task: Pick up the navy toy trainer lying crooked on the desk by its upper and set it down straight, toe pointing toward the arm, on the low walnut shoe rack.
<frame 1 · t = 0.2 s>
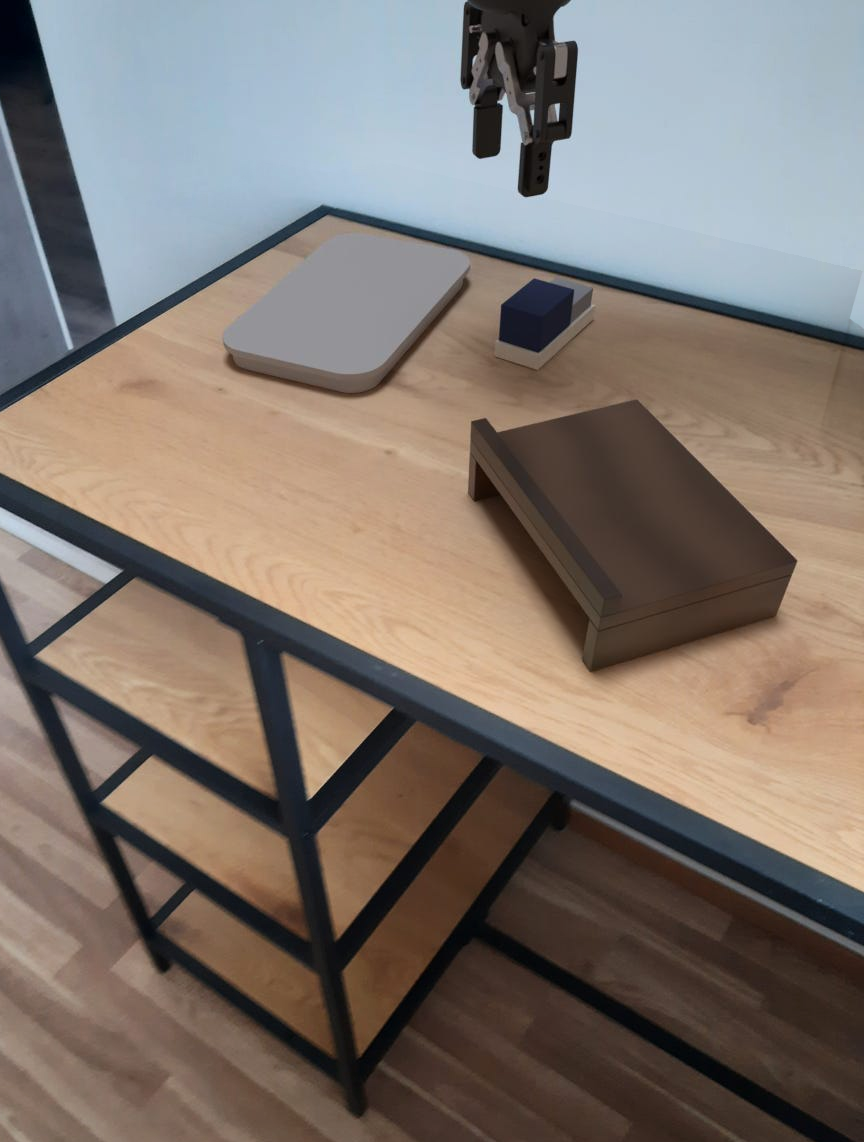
hand: (508, 174, 74), 17 cm above the table, tool pointing down, fingers open, 8 cm apart
trainer: (544, 337, 89), on the table
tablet: (353, 320, 93), on the table
shoe rack: (610, 549, 68), on the table
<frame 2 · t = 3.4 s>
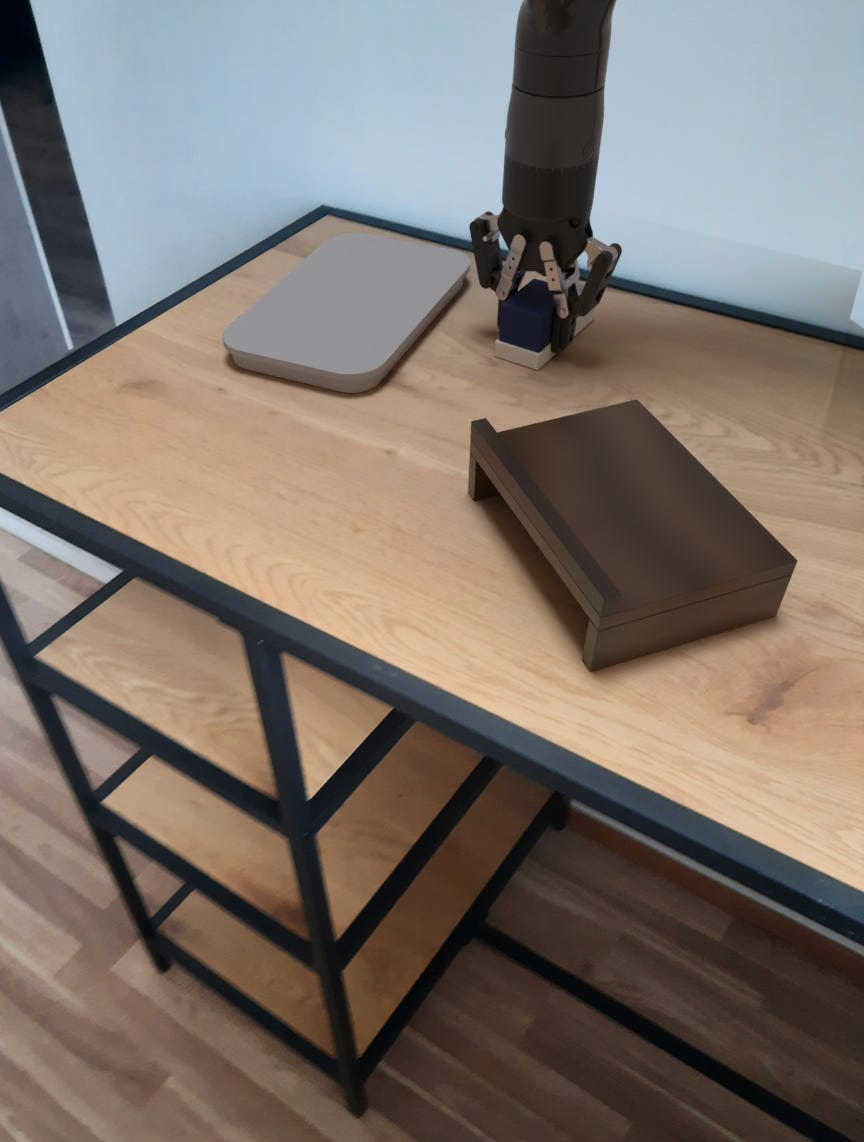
hand: (533, 341, 87), 1 cm above the table, tool pointing down, fingers closed on trainer, 4 cm apart
trainer: (544, 337, 89), on the table, touching gripper
everything else where it was.
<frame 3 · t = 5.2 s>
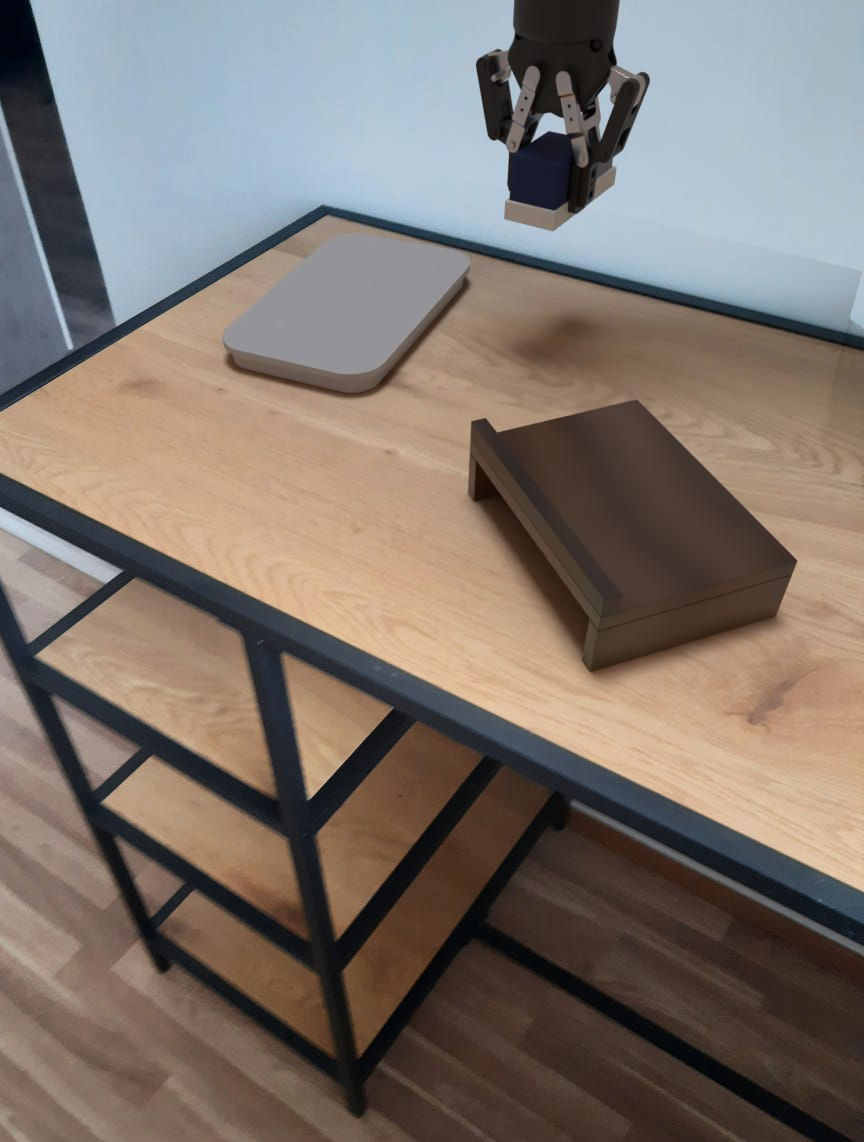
hand: (548, 202, 78), 13 cm above the table, tool pointing down, fingers closed on trainer, 4 cm apart
trainer: (560, 201, 79), point 13 cm above the table, touching gripper
everything else where it was.
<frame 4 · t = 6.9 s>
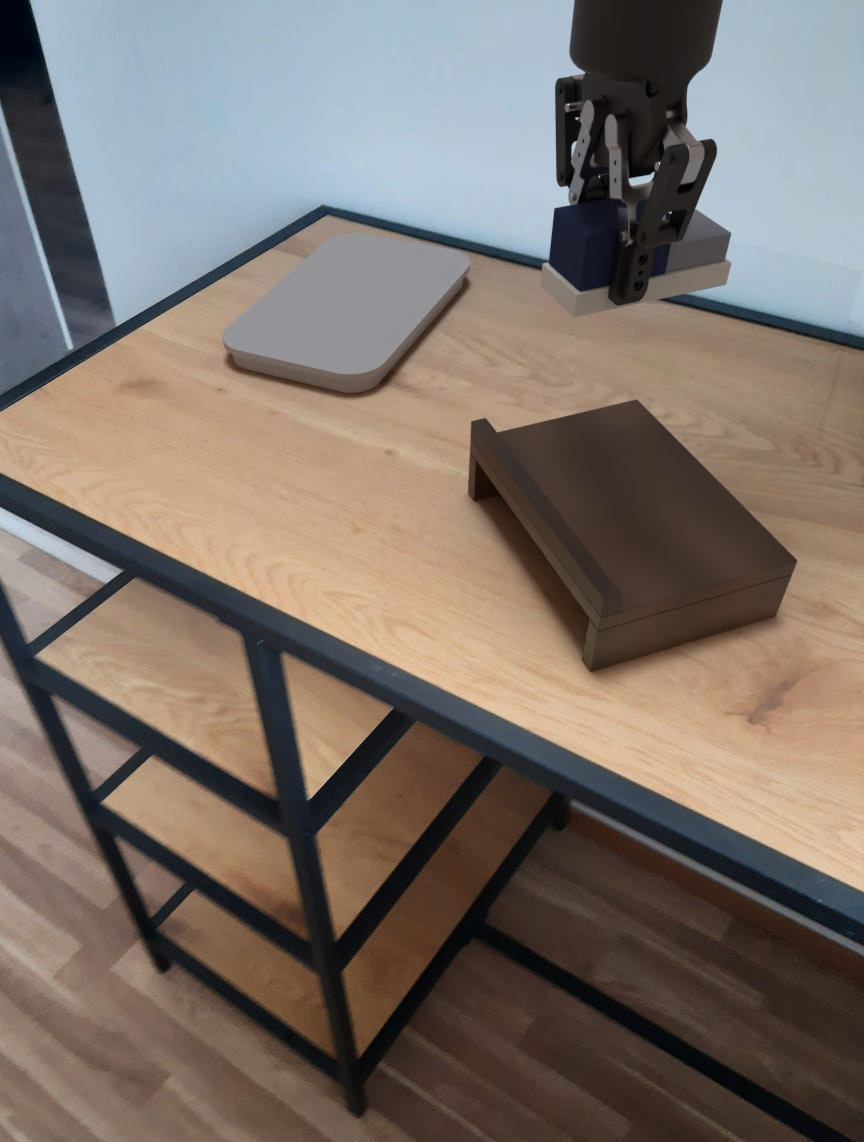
hand: (604, 281, 60), 17 cm above the table, tool pointing down, fingers closed on trainer, 4 cm apart
trainer: (632, 285, 61), point 17 cm above the table, touching gripper
everything else where it was.
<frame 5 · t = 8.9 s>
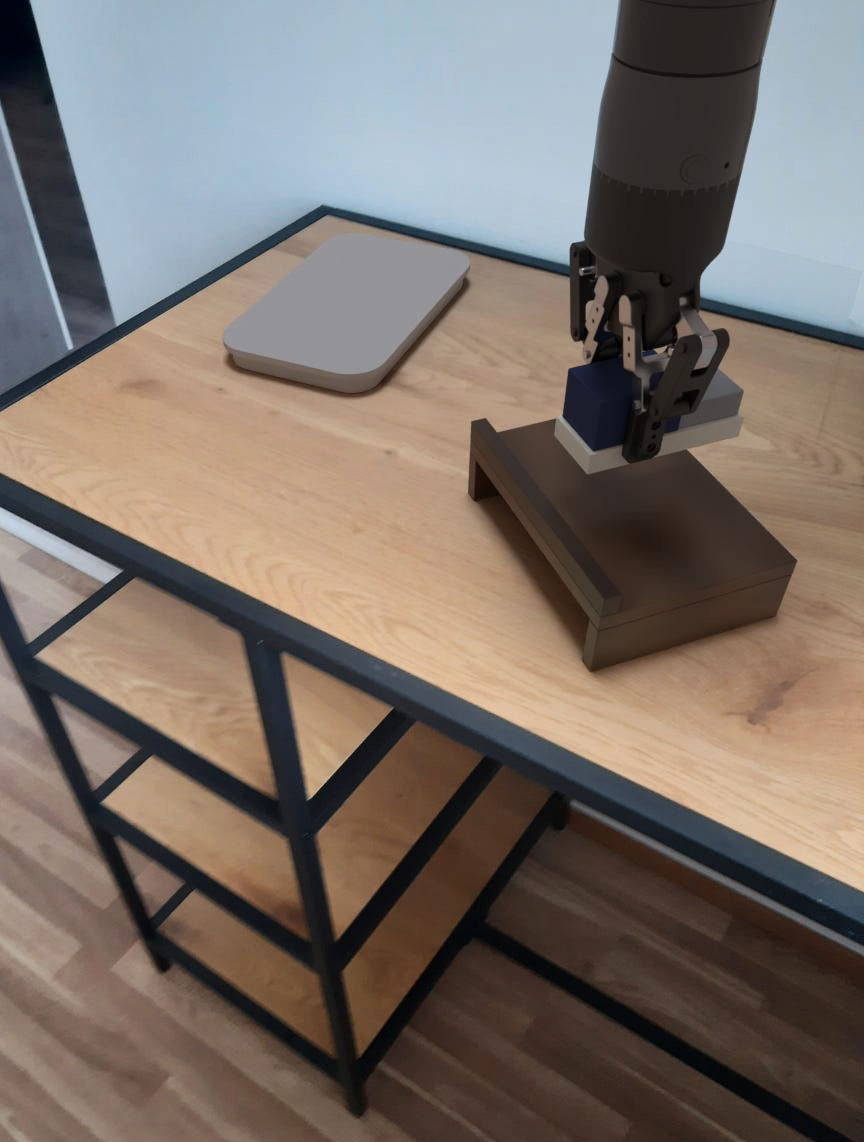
hand: (617, 434, 60), 10 cm above the table, tool pointing down, fingers closed on trainer, 4 cm apart
trainer: (645, 435, 61), point 10 cm above the table, touching gripper
everything else where it was.
when the fingers open (6 cm above the table, at t = 10.5 s): trainer stays where it is, resting on shoe rack.
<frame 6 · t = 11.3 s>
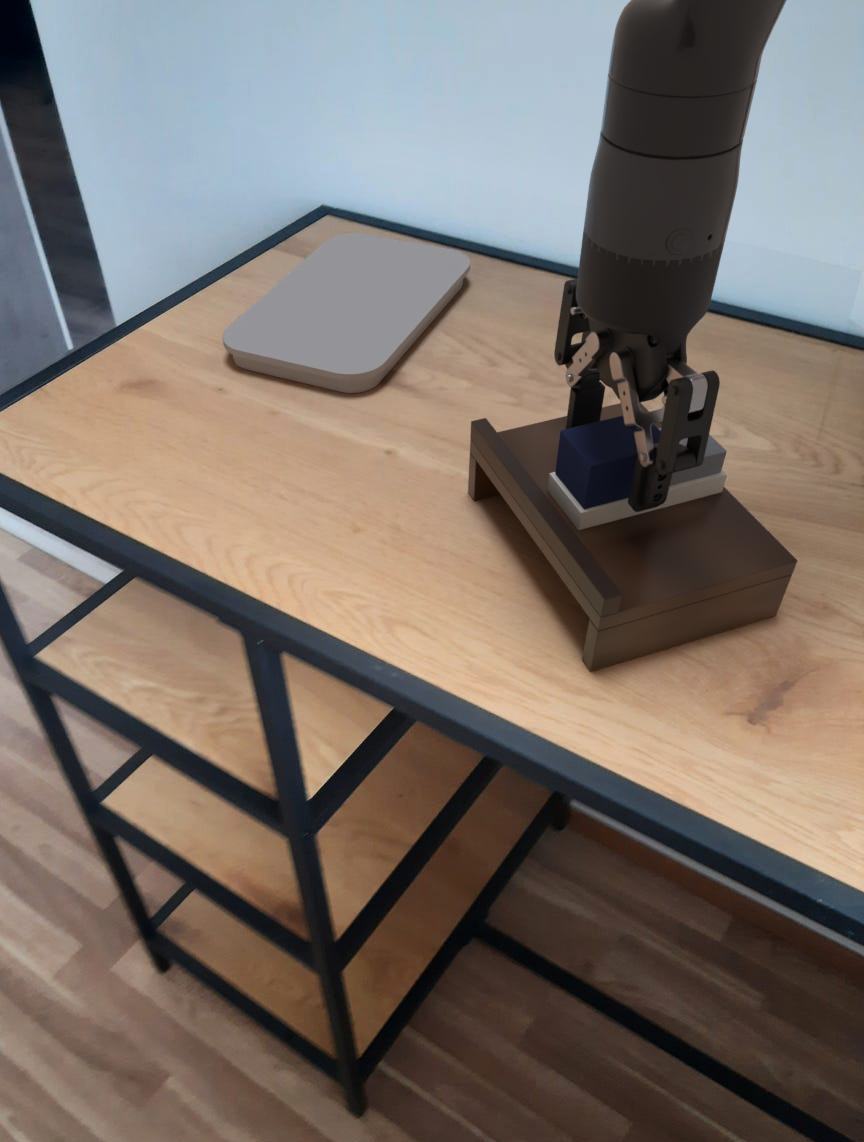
hand: (611, 468, 62), 7 cm above the table, tool pointing down, fingers open, 8 cm apart
trainer: (634, 491, 65), point 5 cm above the table, touching shoe rack
everything else where it was.
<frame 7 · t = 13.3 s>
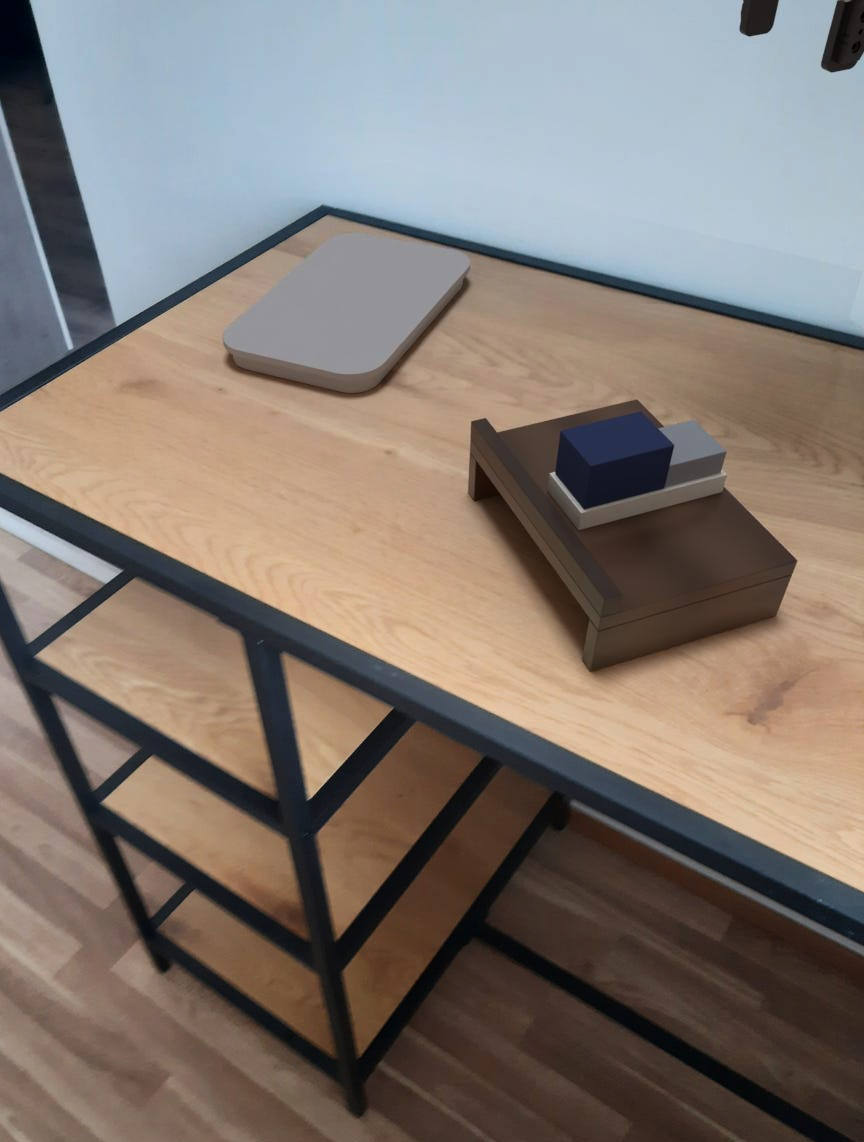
hand: (794, 50, 61), 27 cm above the table, tool pointing down, fingers open, 8 cm apart
nothing on the table moved.
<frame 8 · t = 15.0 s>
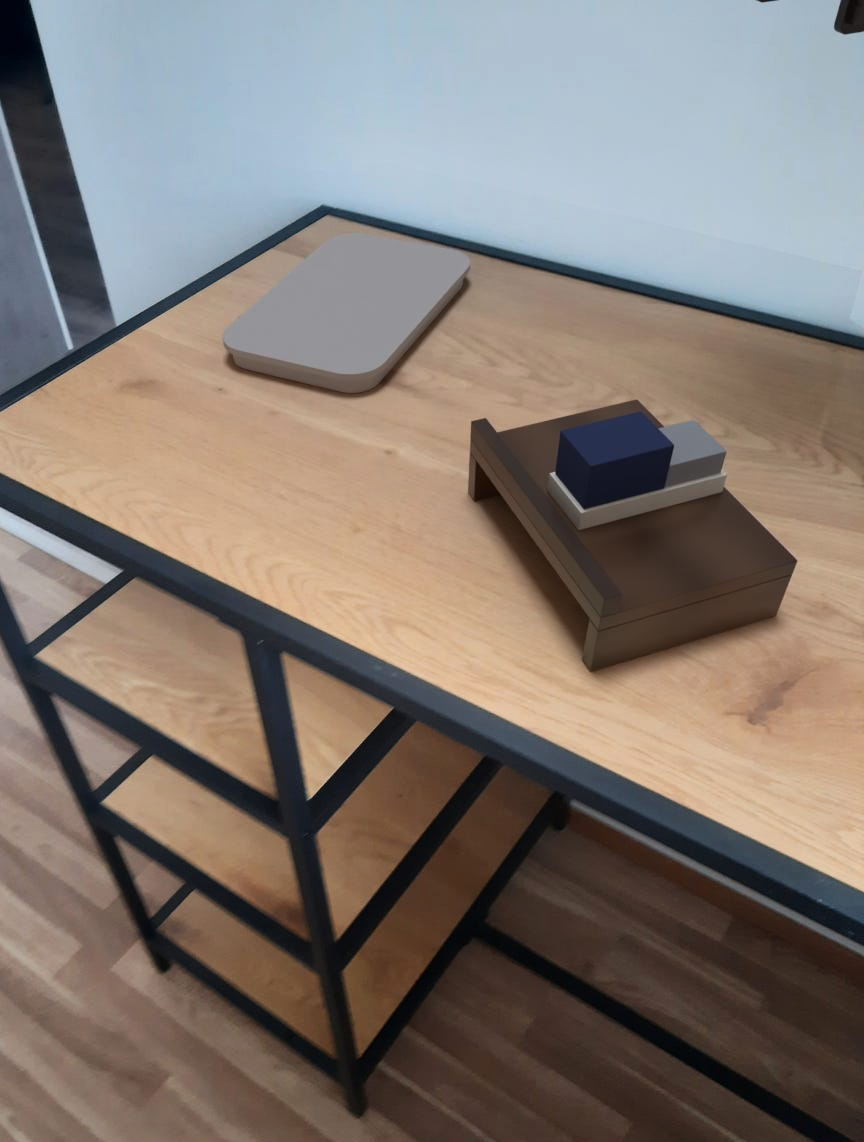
hand: (806, 15, 61), 28 cm above the table, tool pointing down, fingers open, 8 cm apart
nothing on the table moved.
at the end: trainer inside the target area on the shoe rack (0.5 cm from its centre), point 5.0 cm above the shoe rack's base; trainer tilted 0°; trainer touching shoe rack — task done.
